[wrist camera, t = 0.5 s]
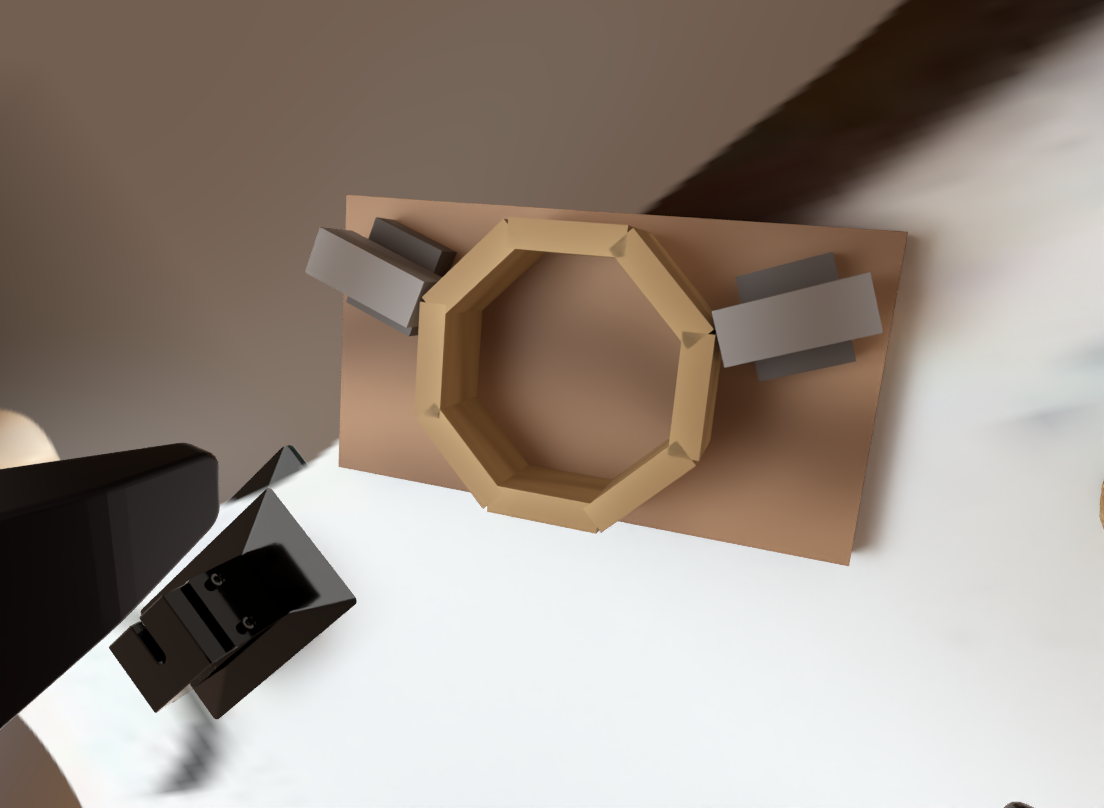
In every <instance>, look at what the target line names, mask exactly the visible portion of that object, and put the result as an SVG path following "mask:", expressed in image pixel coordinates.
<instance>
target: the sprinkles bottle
mask: <svg viewBox="0 0 1104 808" xmlns="http://www.w3.org/2000/svg"><path fill="white" fill-rule="evenodd" d="M1100 519H1101V522H1102V525H1103V528H1104V481H1103V485H1102V493H1101V498H1100Z"/></svg>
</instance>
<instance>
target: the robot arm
mask: <svg viewBox="0 0 1104 808" xmlns="http://www.w3.org/2000/svg"><path fill="white" fill-rule="evenodd" d="M218 468H219V466H218V462H217V459H216V457H215V456H214V455H213V454H212V453H210V452H208V451H206V450H203V449H201V448H198V447H196V446H194V445H192V444H188V443H176V444H169V445H162V446H155V447H148V448H142V449H136V450H128V451H121V452H115V453H108V454H101V455H94V456H87V457H81V458H74V459H67V460H60V461H53V462H47V463H40V464H33V465H26V466H19V467H13V468H6V469H0V729H1V728H2V727H3V726H5V725H6V724H7V723H8V722H9V721H10V720H12V719H13V718H14V717H15V716H16V715H17V714H18V713H20V712H21V711H22V710H23V709H24V708H25V707H26V706H27V705H29V704H30V703H31V702H32V701H33V700H34V699H35V698H37V697H38V696H39V695H40V694H41V693H42V692H43V691H44V690H46V689H47V688H48V687H49V686H50V685H51V684H52V683H54V682H55V681H56V680H57V679H58V678H59V677H60V676H62V675H63V674H64V673H65V672H66V671H67V670H68V669H69V668H71V667H72V666H73V665H74V664H75V663H76V662H77V661H79V660H80V659H81V658H82V657H83V656H84V655H85V654H86V653H88V652H89V651H90V650H91V649H92V648H93V647H94V646H96V645H97V644H98V643H99V642H100V641H101V640H102V639H104V638H105V637H106V636H107V635H108V634H109V633H110V632H111V631H112V630H113V629H114V628H115V627H117V626H118V625H119V624H120V623H121V622H122V621H123V620H124V619H125V618H126V617H127V616H128V615H129V614H130V613H131V612H132V611H133V610H134V609H135V608H136V607H137V606H138V605H139V604H140V603H141V602H142V601H143V600H144V598H145V597H146V596H147V595H148V594H149V593H150V592H151V591H152V590H153V589H154V588H155V587H156V586H157V585H158V584H159V583H160V582H161V581H162V579H163V578H164V577H165V576H166V575H167V574H168V573H169V572H170V571H171V570H172V569H173V568H174V567H175V566H176V565H177V564H178V563H179V562H180V560H181V559H182V558H183V557H184V556H185V555H186V554H187V553H188V552H189V551H190V550H191V549H192V548H193V547H194V546H195V545H196V544H197V543H198V541H199V540H200V539H201V538H202V537H203V536H204V535H205V534H206V533H207V532H208V531H209V530H210V529H211V527H212V526H213V524H214V523H215V521H216V519H217V517H218V513H219V507H220V503H219V469H218ZM1004 808H1034V807H1031V806H1029V805H1027V804H1024V803H1022V802H1011V803H1009V804H1007V805H1006V806H1005V807H1004Z"/></svg>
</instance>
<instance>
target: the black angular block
mask: <svg viewBox="0 0 1104 808" xmlns="http://www.w3.org/2000/svg"><path fill="white" fill-rule="evenodd" d="M308 466H309V465H308V464H307V462H306V461H305V460H304V458H303V457H302V456H301V454H300V453H299V452H298V450H297V449H296V448H295V447H294V446H293V445H287V446H284V447H282V448H281V449H280V450H279V451H278V452H277V453H276V454H275V455H274V456H273V457H272V458H271V459H270V460H269V461H268V462H267V463H266V464H265V465H264V466H263V467H262V468H261V469H260V470H259V471H258V472H257V473H256V474H255V475H254V476H253V477H252V478H251V479H250V480H249V481H248V482H247V483H246V484H245V485H244V486H243V487H242V488H241V489H240V490H239V491H238V492H237V493H236V494H235V495H234V496H233V497H232V498H231V499H230V500H229V501H228V502H227V503H226V504H231V503H234V502H237V501H240V500H242V499H245V498H248V497H252V496H255V495H258V494H260V493H262V494H261V495H260V496H259V497H258V498H256V499H255V500H254V501H253V502H252V503H251V504H250V505H249V506H248V507H247V508H246V509H245V510H244V511H243V512H242V513H241V514H240V515H239V516H238V517H237V518H236V519H235V520H234V521H233V522H232V523H231V524H230V525H229V526H228V527H226V528H225V529H224V530H223V531H222V532H221V533H220V534H219V535H218V536H217V537H216V538H215V539H214V540H213V541H212V542H211V543H210V544H209V545H208V546H207V547H206V548H205V549H204V550H203V551H202V552H201V553H200V554H199V555H198V556H196V557H195V558H194V559H193V560H192V561H191V562H190V563H189V564H188V565H187V566H186V567H185V568H184V569H183V570H182V571H181V572H180V573H179V574H178V575H177V576H176V577H175V578H174V579H173V580H172V581H171V582H170V583H169V584H168V585H166V586H165V587H164V588H163V589H162V590H161V591H160V592H159V593H158V594H157V595H156V596H155V597H154V598H153V599H152V600H151V601H150V602H149V603H148V604H147V605H146V606H145V607H144V608H143V609H142V610H141V616H140V620H141V621H142V622H143V623H142V622H137V623H135V624H133V625H132V626H130V627H129V628H128V629H127V630H126V631H125V632H124V633H123V634H122V635H121V636H120V637H119V638H118V639H117V640H116V641H115V642H114V643H113V644H111V645H110V646H109V649H110V650H111V651H112V653H113V654H114V656H115V657H116V659H117V660H118V661H119V663H120V664H121V666H122V667H123V668H124V670H125V671H126V673H127V674H128V675H129V677H130V678H131V680H132V681H133V682H134V684H135V685H136V687H137V688H138V689H139V691H140V692H141V694H142V695H143V697H144V698H145V699H146V701H147V702H148V704H149V705H150V706H151V708H152V709H153V711H154V712H156V713H157V712H158V711H160V710H161V709H163V708H164V707H166V706H167V705H169V704H170V703H172V702H175V701H176V700H178V699H179V698H181V697H182V696H184V695H185V694H187V693H188V692H190V691H191V690H193V689H194V691H195V692H196V693H197V695H198V696H199V698H200V699H201V701H202V702H203V703H204V705H205V706H206V708H207V709H208V710H209V712H210V713H211V715H212V716H213V717H214V718H215V719H219V718H220V717H222V716H223V715H224V714H225V713H226V712H227V711H229V710H230V709H231V708H232V707H233V706H235V705H236V704H237V703H238V702H239V701H241V700H242V699H243V698H244V697H245V696H247V695H248V694H249V693H250V692H251V691H252V690H254V689H255V688H256V687H257V686H258V685H260V684H261V683H262V682H263V681H264V680H266V679H267V678H268V677H269V676H270V675H272V674H273V673H274V672H275V671H276V670H278V669H279V668H280V667H281V666H282V665H283V664H285V663H286V662H287V661H288V660H289V659H291V658H292V657H293V656H294V655H295V654H297V653H298V652H299V651H300V650H301V649H303V648H304V647H305V646H306V645H307V644H308V643H310V642H311V641H312V640H313V639H314V638H316V637H317V636H318V635H319V634H320V633H322V632H323V631H324V630H325V629H326V628H328V627H329V626H330V625H331V624H332V623H334V622H335V621H336V620H337V619H338V618H339V617H341V616H342V615H343V614H344V613H345V612H347V611H348V610H349V609H350V608H351V607H353V606H354V605H355V604H356V598H355V596H354V595H353V594H352V592H351V591H350V590H349V589H348V587H347V586H346V585H345V583H344V582H343V581H342V579H341V578H340V577H339V576H338V574H337V573H336V572H335V570H334V569H333V568H332V567H331V565H330V564H329V563H328V561H327V560H326V559H325V558H324V556H323V555H322V554H321V552H320V551H319V550H318V548H317V547H316V546H315V545H314V543H313V542H312V541H311V539H310V538H309V537H308V536H307V534H306V533H305V532H304V530H303V529H302V528H301V527H300V525H299V524H298V523H297V521H296V520H295V519H294V518H293V516H292V515H291V514H290V512H289V511H288V510H287V508H286V507H285V506H284V505H283V503H282V502H281V501H280V499H279V498H278V497H277V496H276V494H275V493H274V492H273V490H272V488H274V487H276V486H277V485H279V484H281V483H283V482H284V481H286V480H287V479H289V478H290V477H292V476H294V475H295V474H297V473H299V472H300V471H302V470H304V469H305V468H306V467H308ZM143 624H144V625H145V626H144V625H143Z"/></svg>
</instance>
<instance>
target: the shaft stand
mask: <svg viewBox="0 0 1104 808" xmlns="http://www.w3.org/2000/svg"><path fill="white" fill-rule="evenodd" d="M907 234H908V232H901V231H886V230H871V229H855V228H840V227H825V226H810V225H795V224H779V223H764V222H749V221H734V220H719V219H703V218H688V217H673V216H658V215H643V214H627V213H612V212H597V211H582V210H567V209H551V208H536V207H520V206H506V205H491V204H475V203H459V202H444V201H430V200H414V199H399V198H384V197H368V196H354V195H347V202H346V230H342V229H333V228H323V227H320V229H319V232H318V235H317V238H316V241H315V244H314V247H313V250H312V253H311V256H310V259H309V262H308V265H307V268H306V271H305V273H307V274H309V275H311V276H312V277H314V278H316V279H318V280H320V281H321V282H323V283H325V284H327V285H329V286H331V287H333V288H334V289H336V290H338V291H340V292H342V293H343V294H344V303H343V336H342V371H341V405H340V438H339V467H343V468H348V469H354V470H359V471H364V472H369V473H374V474H379V475H384V476H389V477H395V478H400V479H405V480H410V481H415V482H420V483H425V484H430V485H436V486H441V487H446V488H451V489H456V490H461V491H466V492H471V493H472V495H473V496H474V497H475V499H476V500H477V501H478V503H479V504H480V506H481V507H482V508H485V507H486V506H488V507H487V512H492V513H497V514H502V515H507V516H512V517H517V518H522V519H527V520H531V521H536V522H541V523H546V524H551V525H556V526H561V527H566V528H571V529H576V530H581V531H586V532H591V533H597V532H598V531H599V530H600V532H603V531H604V530H606V529H607V528H608V527H610V526H611V525H613V524H614V523H616V522H617V521H620V522H625V523H630V524H635V525H641V526H646V527H651V528H656V529H661V530H666V531H671V532H676V533H682V534H687V535H692V536H697V537H702V538H707V539H712V540H717V541H723V542H728V543H733V544H738V545H743V546H748V547H753V548H758V549H764V550H769V551H774V552H779V553H784V554H789V555H794V556H799V557H805V558H810V559H815V560H820V561H825V562H830V563H835V564H840V565H846V566H849V563H850V557H851V551H852V546H853V540H854V534H855V529H856V523H857V517H858V512H859V506H860V500H861V495H862V489H863V483H864V478H865V472H866V466H867V461H868V455H869V449H870V444H871V438H872V432H873V427H874V421H875V415H876V410H877V404H878V398H879V393H880V387H881V381H882V376H883V370H884V364H885V359H886V353H887V347H888V342H889V336H890V330H891V324H892V319H893V313H894V307H895V302H896V296H897V290H898V285H899V279H900V273H901V268H902V262H903V256H904V251H905V245H906V239H907Z"/></svg>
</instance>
